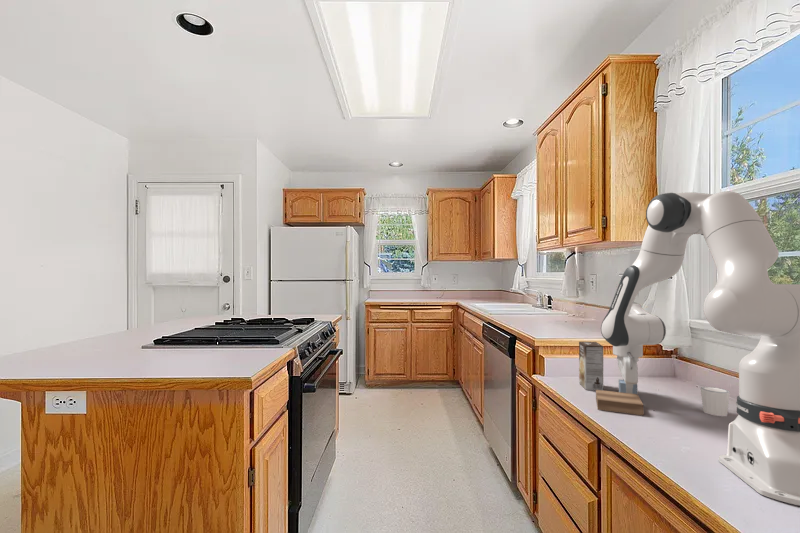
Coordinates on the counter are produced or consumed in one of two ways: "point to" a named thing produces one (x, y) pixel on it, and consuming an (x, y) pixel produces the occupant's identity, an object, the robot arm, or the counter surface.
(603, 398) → the walnut plinth
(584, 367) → the coffee box
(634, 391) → the slate block
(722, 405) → the white cup
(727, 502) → the counter surface
